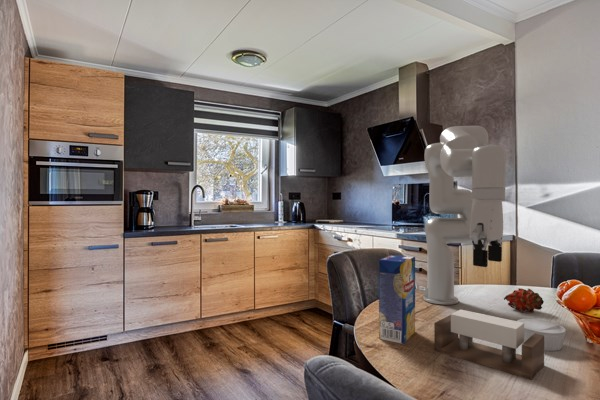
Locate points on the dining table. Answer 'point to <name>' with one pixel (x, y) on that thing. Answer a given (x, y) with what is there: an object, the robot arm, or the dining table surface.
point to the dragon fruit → (524, 300)
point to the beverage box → (396, 298)
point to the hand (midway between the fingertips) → (487, 263)
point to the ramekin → (545, 332)
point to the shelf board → (488, 328)
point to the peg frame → (491, 351)
